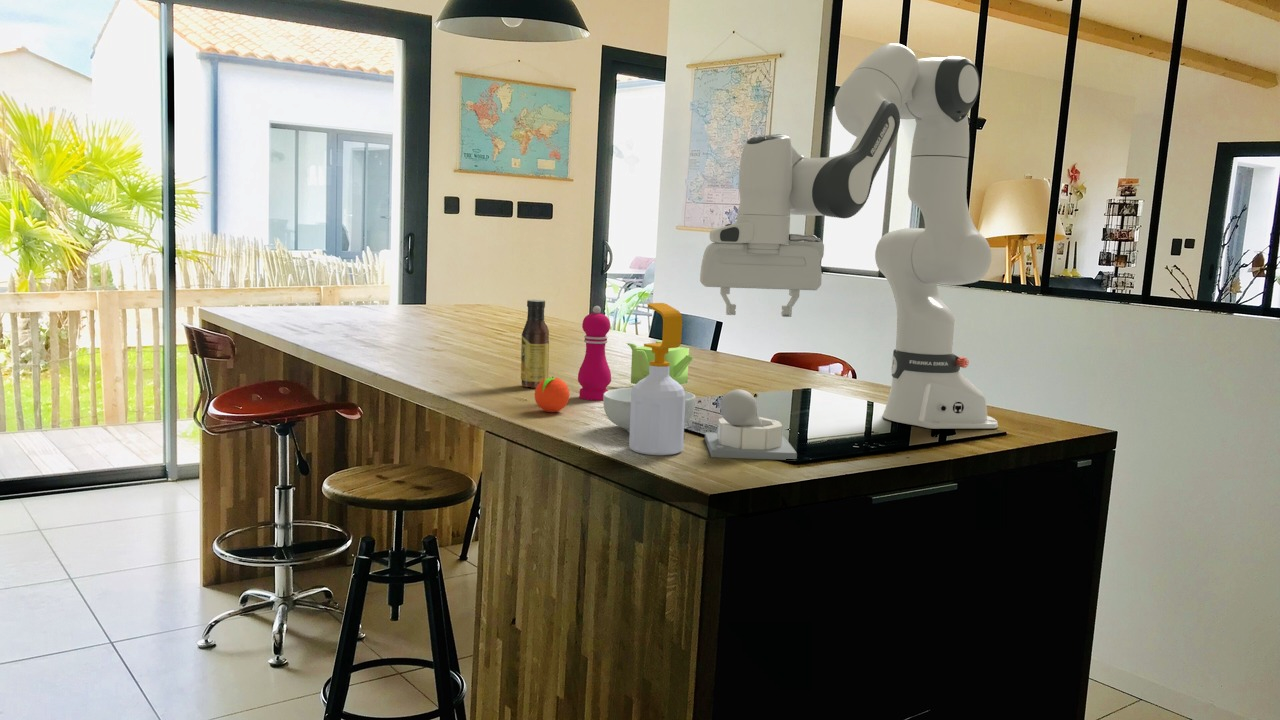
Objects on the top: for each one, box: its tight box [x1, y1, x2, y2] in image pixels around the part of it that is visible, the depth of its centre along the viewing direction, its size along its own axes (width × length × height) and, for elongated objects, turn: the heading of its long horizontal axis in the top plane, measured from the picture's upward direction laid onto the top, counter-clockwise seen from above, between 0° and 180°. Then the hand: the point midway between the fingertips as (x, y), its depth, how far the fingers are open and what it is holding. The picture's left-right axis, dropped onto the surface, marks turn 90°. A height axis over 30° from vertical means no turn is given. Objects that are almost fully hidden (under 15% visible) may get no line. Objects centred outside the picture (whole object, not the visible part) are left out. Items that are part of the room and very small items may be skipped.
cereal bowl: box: [602, 386, 697, 434], centre depth 178 cm, size 17×17×7 cm
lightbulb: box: [719, 388, 763, 427], centre depth 165 cm, size 6×6×11 cm
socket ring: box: [717, 416, 784, 450], centre depth 167 cm, size 10×10×4 cm
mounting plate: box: [704, 432, 798, 461], centre depth 167 cm, size 14×14×2 cm
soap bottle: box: [628, 302, 686, 456], centre depth 162 cm, size 9×9×25 cm
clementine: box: [534, 376, 570, 413], centre depth 193 cm, size 8×7×7 cm
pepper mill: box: [577, 305, 612, 402], centre depth 210 cm, size 7×7×20 cm
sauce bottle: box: [520, 299, 550, 389], centre depth 222 cm, size 6×6×20 cm
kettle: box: [625, 340, 694, 385], centre depth 227 cm, size 15×14×11 cm
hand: (758, 315), depth 165 cm, fingers open, 8 cm apart
